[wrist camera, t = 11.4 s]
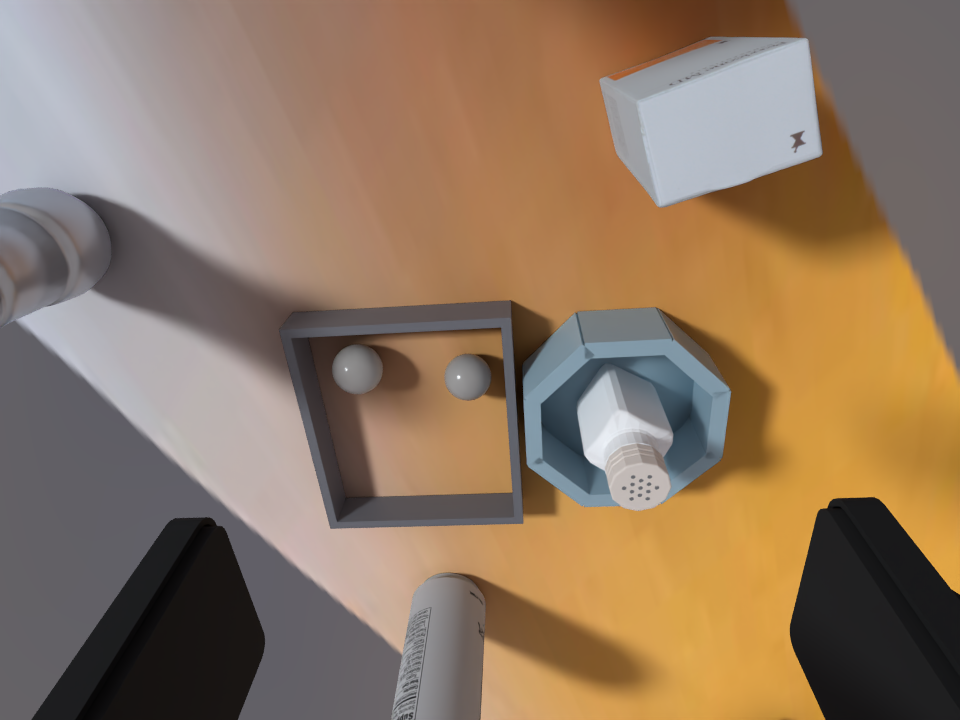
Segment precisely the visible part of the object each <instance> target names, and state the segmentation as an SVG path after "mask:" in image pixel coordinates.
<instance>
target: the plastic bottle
mask: <svg viewBox="0 0 960 720" xmlns="http://www.w3.org/2000/svg"><path fill="white" fill-rule="evenodd" d="M111 255H112V253H111V240H110V236H109V233H108V230H107V228H106V226H105V224H104V222H103V221H102V219H101V218H100V216H99V215H98V214H97V213H96V212H95V211H94V210H93V209H92V208H91V207H90V206H88V205H87V204H86V203H85V202H83V201H81V200H80V199H78V198H76V197H74V196H73V195H71V194H69V193H66V192H63V191H61V190H58V189H53V188H27V189H18V190H13V191H9V192H7V193H5V194H2V195H0V328H2V327H3V326H5V325H6V324H8V323H10V322H12V321H14V320H17V319H19V318H21V317H23V316H25V315H28V314H30V313H32V312H34V311H37V310H39V309H41V308H43V307H47V306H51V305H55V304H59V303H62V302H64V301H67V300H69V299H72V298H74V297H77V296H79V295H82V294H84V293H85V292H87V291H88V290H89V289H91V288H92V287H93V286H94V285H95V284H96V283H97V282H98V281H99V280H100V279H101V278H102V276H103V275H104V274H105V273H106V271H107V269H108V267H109V265H110V261H111Z"/></svg>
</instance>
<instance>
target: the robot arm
mask: <svg viewBox="0 0 960 720" xmlns="http://www.w3.org/2000/svg"><path fill="white" fill-rule="evenodd" d="M790 637H791V642H792V646H793V649H794V652H795V654H796V656H797V658H798V660H799V663H800V665H801V667H802V669H803V671H804V674H805V676H806V678H807V680H808V682H809V684H810V687H811V689H812V691H813V693H814V695H815V698H816V700H817V702H818V704H819V706H820V709H821V711H822V713H823V715H824V717H825V719H826V720H960V595H959V594H958V593H956V592H954V591H953V590H951V589H950V587H949V586H948V585H947V583H946V582H945V581H944V580H943V578H942V577H941V576H940V575H939V573H938V572H937V571H936V569H935V568H934V567H933V566H932V564H931V563H930V562H929V561H928V559H927V558H926V557H925V556H924V554H923V553H922V552H921V550H920V549H919V548H918V547H917V545H916V544H915V543H914V542H913V540H912V539H911V538H910V536H909V535H908V534H907V533H906V531H905V530H904V529H903V528H902V526H901V525H900V524H899V522H898V521H897V520H896V519H895V517H894V516H893V515H892V514H891V512H890V511H889V510H888V509H887V507H886V506H885V505H884V504H883V503H882V502H881V501H880V500H879V499H877V498H875V497H868V498H837V499H833V500H832V501H831V502H830V503H829V505H828V508H827V509H820V510H819V511H818V514H817V517H816V521H815V525H814V529H813V533H812V537H811V541H810V545H809V550H808V554H807V558H806V562H805V566H804V570H803V574H802V578H801V582H800V587H799V591H798V595H797V599H796V603H795V607H794V611H793V615H792V619H791V623H790ZM264 647H265V636H264V632H263V630H262V627H261V624H260V621H259V619H258V616H257V613H256V611H255V608H254V605H253V602H252V600H251V597H250V594H249V592H248V589H247V587H246V584H245V581H244V578H243V576H242V573H241V570H240V568H239V565H238V562H237V559H236V557H235V554H234V551H233V549H232V546H231V543H230V541H229V538H228V535H227V533H226V531H225V529H224V528H223V527H222V526H217V525H216V523H215V521H214V520H213V519H212V518H207V517H205V518H175V519H173V520H171V521H170V522H169V523H168V524H167V525H166V526H165V528H164V529H163V531H162V532H161V534H160V535H159V536H158V538H157V539H156V541H155V542H154V544H153V545H152V546H151V548H150V549H149V551H148V552H147V554H146V555H145V557H144V558H143V559H142V561H141V562H140V564H139V565H138V567H137V568H136V570H135V571H134V572H133V574H132V575H131V577H130V578H129V580H128V581H127V583H126V584H125V586H124V587H123V588H122V590H121V591H120V593H119V594H118V596H117V597H116V598H115V600H114V601H113V603H112V604H111V606H110V607H109V609H108V610H107V611H106V613H105V615H104V616H103V618H102V619H101V620H100V621H99V623H98V624H97V626H96V627H95V629H94V630H93V632H92V633H91V634H90V636H89V637H88V639H87V640H86V642H85V643H84V645H83V646H82V647H81V649H80V650H79V652H78V653H77V655H76V656H75V658H74V659H73V660H72V662H71V663H70V665H69V666H68V668H67V669H66V671H65V672H64V673H63V675H62V676H61V678H60V679H59V681H58V682H57V684H56V685H55V687H54V688H53V689H52V691H51V692H50V694H49V695H48V697H47V698H46V699H45V701H44V702H43V704H42V705H41V707H40V708H39V710H38V711H37V713H36V714H35V715H34V717H33V718H32V720H238V718H239V715H240V712H241V710H242V707H243V705H244V702H245V700H246V697H247V695H248V692H249V689H250V687H251V684H252V682H253V679H254V677H255V674H256V672H257V669H258V667H259V664H260V662H261V659H262V656H263V653H264Z"/></svg>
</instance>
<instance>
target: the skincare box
mask: <svg viewBox="0 0 960 720" xmlns="http://www.w3.org/2000/svg"><path fill="white" fill-rule="evenodd" d="M600 86H601V89H602V94H603V98H604V102H605V107H606V111H607V115H608V120H609V124H610V128H611V133H612V137H613V141H614V145H615V150H616V153H617V155H618V157H619V158H620V159H621V160H622V162H623V163H624V164H625V165H626V167H627V168H628V169H629V170H630V171H631V173H632V174H633V175H634V176H635V178H636V179H637V180H638V181H639V183H640V184H641V185H642V186H643V187H644V189H645V190H646V191H647V193H648V194H649V195H650V196H651V198H652V199H653V201H654V202H655V203H656V205H657V206H658V207H667V206H670V205H673V204H676V203H679V202H682V201H686V200H689V199H692V198H695V197H698V196H701V195H704V194H707V193H710V192H714V191H717V190H721V189H726V188H730V187H734V186H737V185H740V184H743V183H747V182H749V181H751V180H753V179H756V178H759V177H761V176H764V175H767V174H770V173H773V172H776V171H779V170H782V169H785V168H788V167H791V166H794V165H797V164H800V163H803V162H806V161H809V160H812V159H815V158H818V157H820V156H821V155H822V154H823V151H822V143H821V135H820V128H819V120H818V112H817V105H816V97H815V89H814V80H813V72H812V64H811V55H810V47H809V40H808V39H807V38H769V37H709V38H706V39H704V40H701V41H699V42H697V43H694V44H692V45H689V46H687V47H684V48H682V49H679V50H677V51H674V52H672V53H669V54H667V55H664V56H662V57H659V58H657V59H654V60H651V61H649V62H646V63H643V64H640V65H637V66H635V67H632V68H629V69H626V70H623V71H621V72H618V73H615V74H612V75H609V76H606V77H604V78H601V79H600Z"/></svg>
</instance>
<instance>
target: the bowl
mask: <svg viewBox="0 0 960 720" xmlns="http://www.w3.org/2000/svg"><path fill="white" fill-rule="evenodd" d="M605 363H608V364H612V365H615V366H617V367H619V368H621V369H623V370H625V371H627V372H629V373H631V374H633V375H635V376H637V377H639V378H641V379H644V380H646V381H648V382H650V383H651V384H652V385H653V386H654V387H655V389H656V392H657V394H658V397H659V399H660V402H661V404H662V407H663V409H664V412H665V414H666V417H667V419H668V422H669V424H670V427H671V429H672V432H673V434H674V435H673V442H672V445H671V447H670V448H669V450H668V451H667V453H666V454H665V456H664V457H663V458H664V462H665V465H666V468H667V471H668V473H669V477H670V482H671V486H672V487H671V489H670V491H669V494H668V496H667V498H666V499H665V500H664V501H663V502H661V504H662V503H664V502H665V501H666V500H668V499H669V498H670V497H672V496H673V495H674V494H676V493H677V492H679V491H680V490H681V489H683V488H684V487H685V486H687V485H688V484H689V483H691V482H692V481H693V480H695V479H696V478H697V477H699V476H700V475H702V474H703V473H704V472H706V471H707V470H708V469H710V468H711V467H712V466H714V465H715V464H716V463H718V462H719V461H721V459H720V458H722V456H723V449H724V441H725V434H726V426H727V419H728V411H729V404H730V396H731V390H730V388H729V386H728V385H727V383H726V381H725V380H724V378H723V377H722V375H721V373H720V372H719V370H718V368H717V367H716V365H715V363H714V362H713V360H712V359H711V357H710V355H709V354H708V353H707V352H706V351H705V350H704V349H703V348H701V347H700V346H699V345H698V344H697V343H696V342H695V341H694V340H693V339H691V338H690V337H689V336H688V335H687V334H686V333H685V332H684V331H683V330H681V329H680V328H679V327H678V326H677V325H676V324H675V323H674V322H673V321H671V320H670V319H669V318H668V317H667V316H666V315H665V314H664V313H663V312H661V311H660V310H659V309H656V307H655V308H636V309H617V310H599V311H580V312H577V314H576V313H574V314H573V315H572V316H571V317H570V318H569V319H568V320H567V321H566V322H565V323H564V324H563V325H562V326H561V327H560V328H559V329H558V330H557V331H556V332H555V333H553V334H552V335H551V336H550V337H549V338H548V339H547V340H546V341H545V342H544V343H543V344H542V345H541V346H540V347H539V348H538V349H537V350H536V351H535V352H534V353H533V354H532V355H531V356H530V357H529V358H528V359H527V360H526V361H525V362H524V363H523V365H522V368H523V401H524V420H525V438H526V457H527V465H528V467H529V468H531V469H532V470H533V471H535V472H536V473H537V474H539V475H540V476H541V477H543V478H544V479H546V480H547V481H548V482H550V483H551V484H552V485H554V486H555V487H556V488H558V489H559V490H561V491H562V492H563V493H565V494H566V495H567V496H569V497H570V498H572V499H573V500H574V501H576V502H577V503H578V504H580V505H581V506H583V505H584V507H600V506H620V505H619V504H618V503H617V502H615V501H614V500H613V499H612V496H611V493H610V489H609V485H608V481H607V476H606V473H605V471H604V470H602V469H600V468H598V467H597V466H595V465H593V464H592V463H590V462H589V461H588V459H587V458H586V457H585V455H584V450H583V444H582V438H581V432H580V427H579V421H578V415H577V409H576V406H577V401H578V400H579V398H580V397H581V395H582V394H583V392H584V391H585V389H586V388H587V387H588V385H589V384H590V382H591V381H592V379H593V378H594V376H595V375H596V374H597V372H598V371H599V369H600V368H601V367H602V366H603V365H604V364H605ZM541 421H542V422H541ZM658 505H659V504H658Z"/></svg>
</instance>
